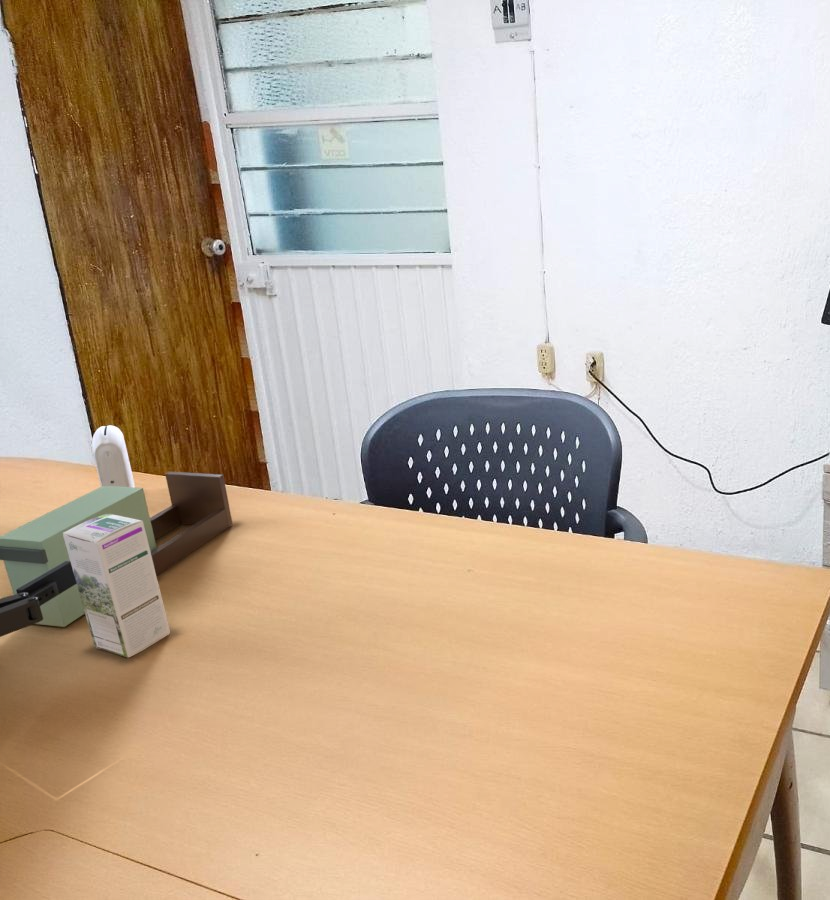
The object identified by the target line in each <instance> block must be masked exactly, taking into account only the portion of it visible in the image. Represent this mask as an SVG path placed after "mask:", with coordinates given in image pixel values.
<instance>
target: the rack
mask: <svg viewBox="0 0 830 900" xmlns="http://www.w3.org/2000/svg"><path fill="white" fill-rule="evenodd" d="M164 476H165V480H166V484H167V485H166V486H167V490H168V493H169V499H170V503H171V505H170V506H168V507H166V508H164V509H163V510H161V511H159V512H158V513H156V514H154V515H152V516H150V521H151V525H152V530H153V534H154V538H155V541H156V540H157V539H159V538H161V537H162V536H164V535H166V534H167V533H169V532H170V531H172V530H174V529H175V528H177V527H179V526H180V525H191V526H189V527H188V528H186V529H185V530H183V531H182V532H180V533H178V534H176V535H175V536H174V537H173V536H172V538H170V539H168V540H167V541H166V542H164V543H162V544H161V545H159V546H158V547H157V548H156V549H154V550H153V551H151V556H152V560H153V564H154V569H155V573H156V576H157V577H158V576H159V575H160V574H162V573H164V572H165V571H167V570H169V568H171V567H172V566H174V565H176V564H177V563H178V562H181V560H183V559H184V558H185V557H187V556H189V555H190V554H192V553H193V552H194V551H196V550H197V549H199V548H200V547H202V546H204V545H205V544H206V543H208V542H209V541H211V540H212V539H214V538H216V537H217V536H218V535H220V534H221V533H222V532H224V531H226V530H227V529H229V528H230V527H232V526H233V525H234V524H233V518H232V513H231V508H230V503H229V499H228V493H227V487H226V482H225V477H224V474H218V473H217V474H216V473H201V472H199V473H198V472H183V471H167V472H166V473H165V474H164Z"/></svg>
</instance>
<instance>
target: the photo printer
mask: <svg viewBox="0 0 830 900" xmlns="http://www.w3.org/2000/svg"><path fill="white" fill-rule="evenodd" d="M91 451H92V456H93V460H94V463H95V468H96V472H97V476H98V480H99V484H100V487H102V486H119V487H134V488H136V485H135V479H134V475H133V471H132V467H131V463H130V458H129V454H128V449H127V445H126V441H125V437H124V433H123V432H122V431H121V429H120V428H119V427H117V426H115V425H111V424H108V425H107V426H106V425H102V426H100V427H98V428H97V429H96V430H95V432H94V433H93V436H92V440H91Z"/></svg>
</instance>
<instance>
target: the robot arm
mask: <svg viewBox="0 0 830 900" xmlns="http://www.w3.org/2000/svg"><path fill="white" fill-rule="evenodd" d="M75 584H77V583H76V579H75V576H74V572H73V569H72V565H71V562H70V561H65V562H63V563H62V564H60V565H58V566H56V567H55V568H53V569H51V570H49V571H48V572H46V573H44V574H42V575H41V576H39V577H37V578H35V579H34V580H32V581H30V582H28V583H27V584H25V585H23V586H22V587H20V588H18V589H16V592H17V594H15V595H14V594H11V595H8V596H5V597H0V638H1V637H4V636H7V635H9V634H12V633H14V632H16V631H19V630H23V629H24V628H27V627H30V626H32V625H36V624H35V623H38V622H40V621H42V620H43V615H42V612H41V608H40V606H41V605H43V604H44V603H46V602H48V601H49V600H51V599H52V598H54V597H56V596H57V595H59V594H61V593H62V592H64V591H66V590H67V589H69V588H70V587H72V586H74V585H75Z"/></svg>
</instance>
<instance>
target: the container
mask: <svg viewBox="0 0 830 900" xmlns="http://www.w3.org/2000/svg"><path fill="white" fill-rule="evenodd" d="M105 514H113V515H118V516H122V517H127V518H132V519H136V520H141V521H143V524H144V528H145V532H146V535H147V540H148V544H149V548H150V552H151V551H153V550H154V549H156V548H158V547H157V544H156V540H155V538H154V534H153V530H152V525H151V521H150V518H151V516H150V512H149V508H148V504H147V500H146V495H145V491H144V487H135V488H134V487H119V486H102V487H101V486H100V487H98V488H96V489H94V490H91V491H90V492H88V493H85V494H83V495H81V496H79V497H77V498H75V499H73V500H71V501H69V502H67V503H65V504H63V505H61V506H59V507H57V508H55V509H53V510H51V511H49V512H47V513H45V514H43V515H41V516H39V517H37V518H35V519H32V520H30V521H28V522H27V523H24V524H22V525H20V526H18V527H17V528H14V529H12V530H10V531H8V532H6V533H4V534H2V535H0V561H3V564H4V568H5V571H6V574H7V578H8V581H9V585H10V588H11V590H12V595H15V594H17V592H16V589H18V588H20V587H22V586H23V585H25V584H27V583H28V582H30V581H32V580H34V579H35V578H37V577H39V576H41V575H42V574H44V573H46V572H48V571H49V570H51V569H53V568H55V567H56V566H58V565H60V564H62V563H63V562H65V561H70V558H69V555H68V551H67V547H66V544H65V540H64V537H63V532H66V531H68V530H70V529H72V528H73V527H75V526H77V525H79V524H81V523H84V522H86V521H88V520H91V519H93V518H96V517H99V516H102V515H105ZM40 608H41V612H42V615H43V620H42V621H40V622H38V623H35V624H34V625H44V626H50V627H51V626H52V627H61V628H65V627H67V626H68V625H70V624H71V623H74V621H76V620H78V619H79V618H80V617H82V616H84V615H85V611H84V608H83V604H82V601H81V597H80V594H79V590H78V586H77V584H75V585H74V586H72V587H70V588H69V589H67V590H66V591H64V592H62V593H61V594H59V595H57V596H56V597H54V598H52V599H51V600H49V601H48V602H46V603H44V604H43V605H41V606H40Z"/></svg>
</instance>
